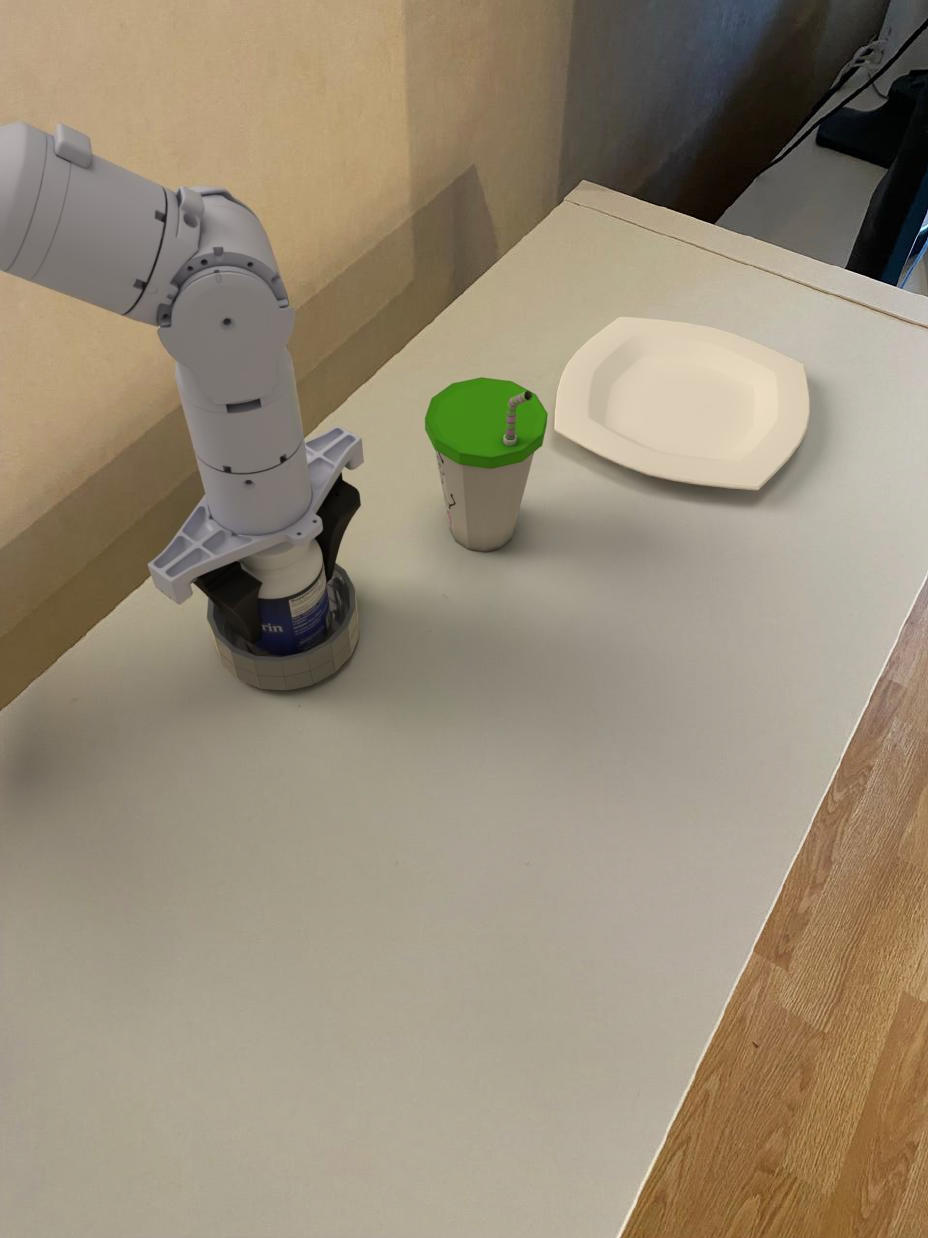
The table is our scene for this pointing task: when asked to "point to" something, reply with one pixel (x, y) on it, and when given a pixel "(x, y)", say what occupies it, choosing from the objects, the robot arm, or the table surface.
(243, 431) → the robot arm
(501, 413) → the cup
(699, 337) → the plate
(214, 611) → the bowl
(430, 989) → the table surface
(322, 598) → the pill bottle
